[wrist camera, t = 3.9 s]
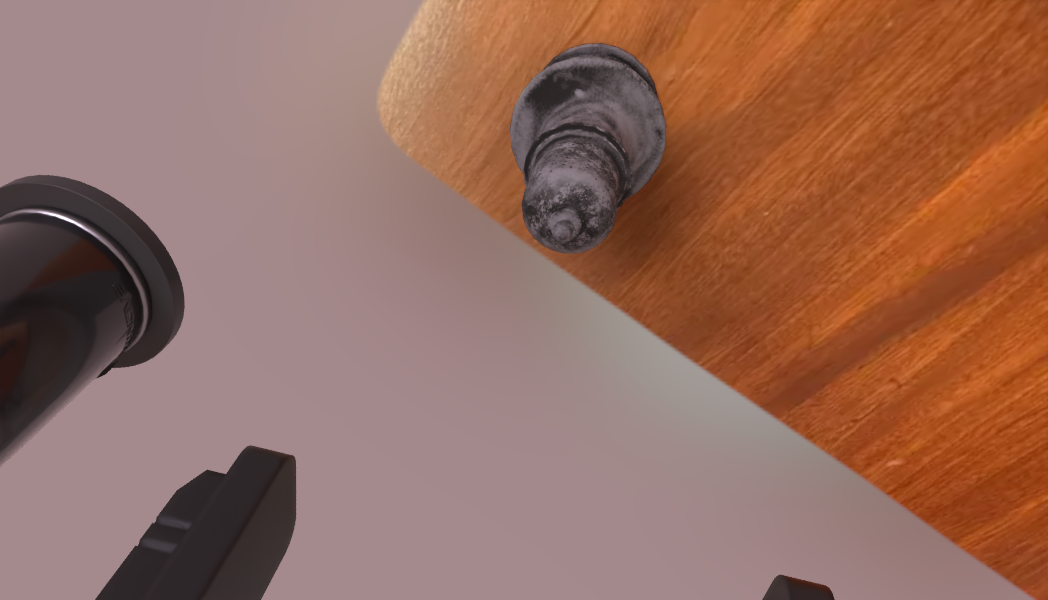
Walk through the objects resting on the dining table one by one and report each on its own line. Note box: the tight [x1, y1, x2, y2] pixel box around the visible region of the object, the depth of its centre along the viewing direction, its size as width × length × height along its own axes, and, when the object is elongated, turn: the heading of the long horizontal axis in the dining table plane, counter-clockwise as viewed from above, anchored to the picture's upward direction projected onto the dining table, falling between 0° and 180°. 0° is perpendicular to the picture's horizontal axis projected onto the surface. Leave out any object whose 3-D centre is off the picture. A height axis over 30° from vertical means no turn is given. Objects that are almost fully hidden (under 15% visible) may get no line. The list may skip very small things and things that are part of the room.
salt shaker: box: [510, 43, 666, 253], centre depth 25 cm, size 6×6×12 cm
